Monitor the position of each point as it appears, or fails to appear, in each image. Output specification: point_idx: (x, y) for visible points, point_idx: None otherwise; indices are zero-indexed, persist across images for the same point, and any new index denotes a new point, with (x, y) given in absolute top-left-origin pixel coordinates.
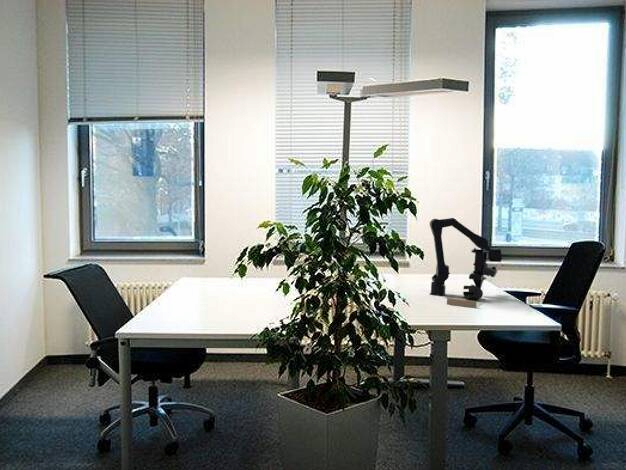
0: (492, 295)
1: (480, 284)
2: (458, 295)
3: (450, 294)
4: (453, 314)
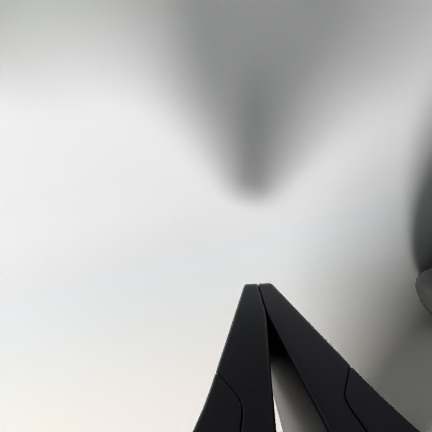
0: (59, 97)
1: (379, 397)
2: None
3: None
4: None
